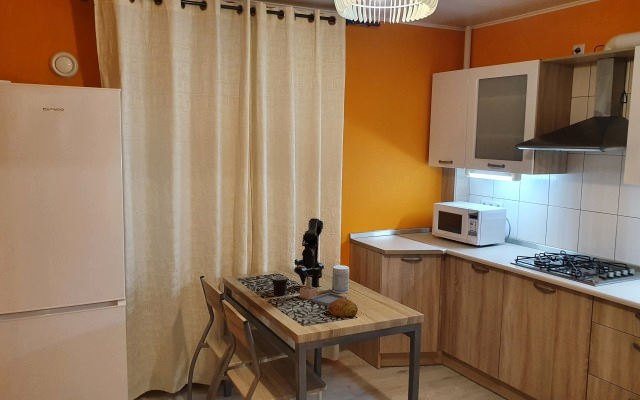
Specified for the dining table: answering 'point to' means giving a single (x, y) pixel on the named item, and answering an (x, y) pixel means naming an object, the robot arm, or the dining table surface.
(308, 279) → the dowel
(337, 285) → the supplement tub
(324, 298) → the tray
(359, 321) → the dining table surface
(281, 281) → the coffee mug
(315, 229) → the robot arm
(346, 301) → the croissant
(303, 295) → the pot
